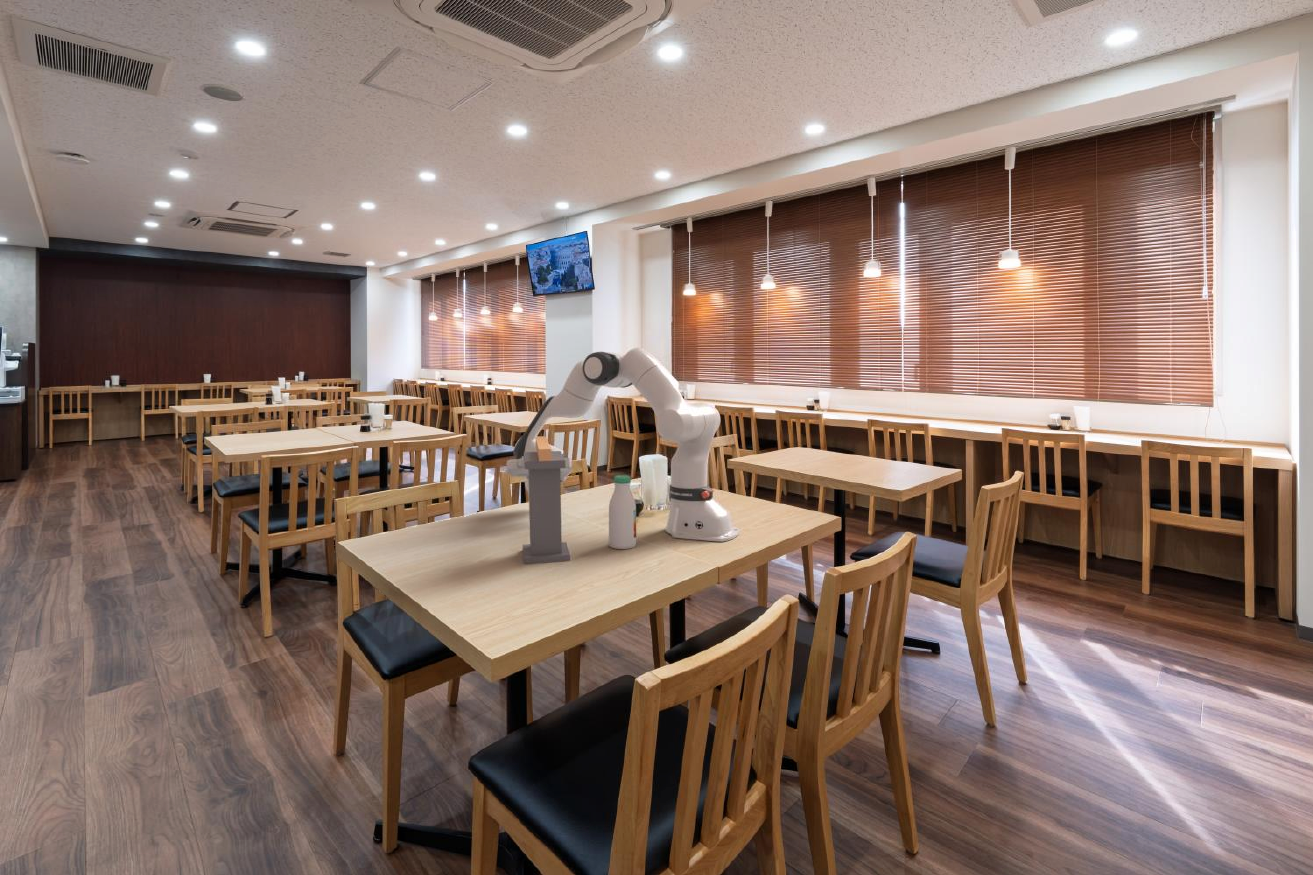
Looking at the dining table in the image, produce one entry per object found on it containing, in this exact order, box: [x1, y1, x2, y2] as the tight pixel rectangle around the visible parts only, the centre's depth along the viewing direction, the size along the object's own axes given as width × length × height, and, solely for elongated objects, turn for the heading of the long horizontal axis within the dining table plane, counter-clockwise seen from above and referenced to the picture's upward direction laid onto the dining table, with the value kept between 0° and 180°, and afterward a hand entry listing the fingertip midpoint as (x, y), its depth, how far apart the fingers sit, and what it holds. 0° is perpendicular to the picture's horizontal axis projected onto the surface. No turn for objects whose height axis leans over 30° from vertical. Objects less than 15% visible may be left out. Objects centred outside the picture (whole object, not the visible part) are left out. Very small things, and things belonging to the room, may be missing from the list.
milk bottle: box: [608, 474, 637, 550], centre depth 179 cm, size 8×8×20 cm
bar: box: [535, 435, 551, 461], centre depth 173 cm, size 26×3×3 cm, turn 13°
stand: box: [522, 451, 571, 564], centre depth 170 cm, size 16×12×27 cm
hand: (539, 458), depth 196 cm, fingers open, 8 cm apart
